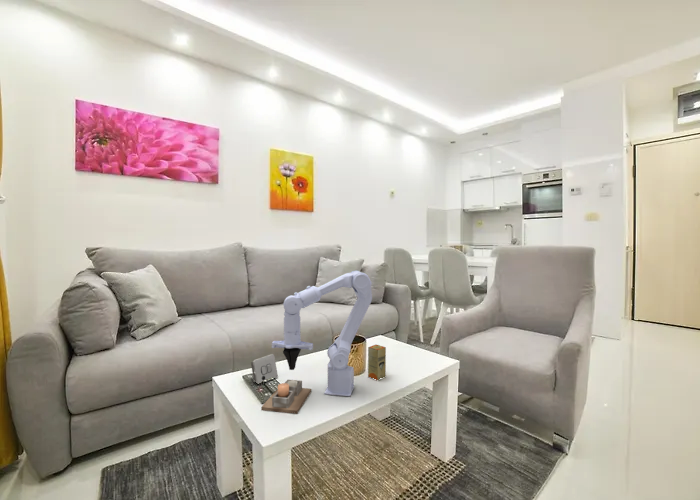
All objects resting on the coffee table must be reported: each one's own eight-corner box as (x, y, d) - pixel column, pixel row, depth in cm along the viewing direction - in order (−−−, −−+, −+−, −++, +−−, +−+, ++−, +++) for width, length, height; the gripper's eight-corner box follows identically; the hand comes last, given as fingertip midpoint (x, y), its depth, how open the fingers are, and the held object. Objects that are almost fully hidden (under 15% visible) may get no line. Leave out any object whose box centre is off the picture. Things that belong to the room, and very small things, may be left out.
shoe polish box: (368, 377, 124) (368, 347, 124) (375, 373, 128) (376, 344, 127) (377, 380, 121) (377, 350, 120) (385, 377, 124) (385, 347, 124)
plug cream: (298, 389, 111) (298, 380, 111) (295, 393, 107) (295, 385, 107) (289, 388, 111) (289, 379, 111) (285, 392, 108) (285, 384, 108)
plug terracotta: (290, 392, 103) (290, 383, 103) (286, 397, 99) (286, 388, 99) (280, 391, 103) (280, 382, 103) (275, 396, 100) (275, 387, 100)
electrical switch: (258, 386, 116) (256, 361, 116) (250, 383, 119) (248, 359, 119) (278, 378, 123) (276, 354, 123) (270, 376, 126) (268, 352, 127)
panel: (311, 391, 112) (311, 380, 112) (297, 413, 97) (297, 401, 97) (280, 388, 114) (280, 377, 114) (261, 410, 99) (261, 397, 99)
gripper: (267, 332, 106) (268, 371, 107) (308, 334, 104) (308, 375, 104) (276, 327, 113) (276, 364, 113) (314, 329, 111) (314, 366, 111)
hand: (292, 368), depth 109 cm, fingers closed
